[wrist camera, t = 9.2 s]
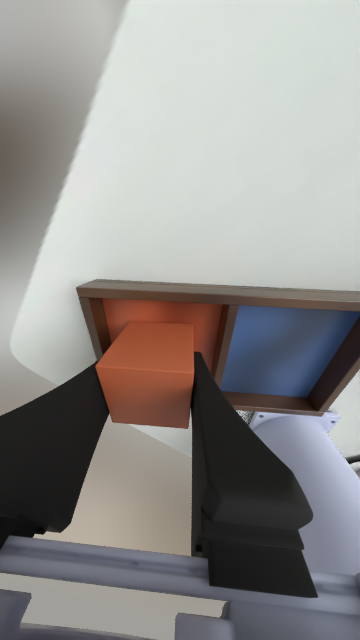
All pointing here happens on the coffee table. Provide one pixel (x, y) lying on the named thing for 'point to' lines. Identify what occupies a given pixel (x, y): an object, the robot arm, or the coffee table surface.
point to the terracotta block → (149, 374)
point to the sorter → (245, 336)
